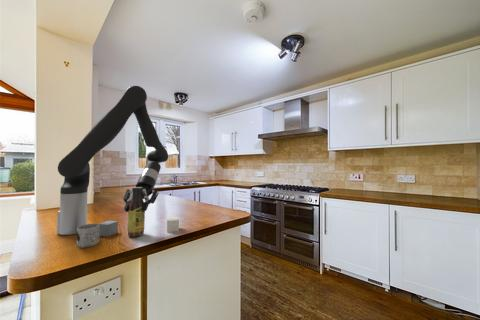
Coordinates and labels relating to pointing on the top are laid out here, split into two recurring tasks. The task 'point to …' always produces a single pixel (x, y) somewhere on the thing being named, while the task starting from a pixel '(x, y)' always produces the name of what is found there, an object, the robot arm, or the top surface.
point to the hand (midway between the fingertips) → (134, 210)
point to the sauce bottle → (136, 213)
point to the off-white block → (172, 224)
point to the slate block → (108, 228)
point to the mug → (87, 235)
